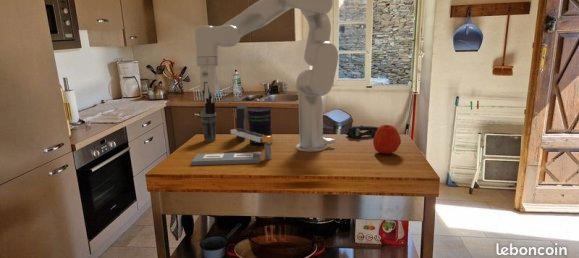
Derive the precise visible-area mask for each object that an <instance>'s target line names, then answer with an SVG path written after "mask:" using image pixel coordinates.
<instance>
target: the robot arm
mask: <svg viewBox="0 0 579 258" xmlns="http://www.w3.org/2000/svg"><path fill="white" fill-rule="evenodd" d="M333 3H334V2H333V0H258V1H256V2H254V3H253V4H251V5H250V6H248V7H247V8H246V9H244V10H243V11H241V13H238V14H237V15H235V16H234V17H231V19H230V20H228V21H226V22H225V23H223V24H222V25H217V26H215V25H198V26H195V28H194V41H195V42H194V45H195V59H196V61H195V62H196V67H199V85H200V94H201V95H203V96H204V105H205V107H204V108H205V110H206V114H215V112H216V102H215V101H216V100H215V99H216V98H215V95H216V94H218V93H219V92H220V85H219V75H218V74H219V73H218V68H217V67H219V66H220V65H219V49H218V46H219V47H220V48H231V47H235V46H237V44H239V43H240V41H241V38H242V37H244V36H245V35H247V34H249V33H251V32H253V31H257V30H259V29H262V28H264V27H265V26H267V25H268V24H270V23H271V22H273V21H274V20H276V19H277V18H278V17H280V16H282V15H283V14H285V13H286V12H288V11H289V10H291V9H298V10H300V12H301V14H302V15H303V16H304V18H305V19H306V20H307V24H308V33H307V39H306V46H305V49H304V53H303V54H304V57H303V59H304V61H305V63H306V64H307V65H309V66H311V67H312V68H311V69H306V70H303V71H300V73H299V74H298V76H297V78H296V82H295V85H296V87H295V88H296V92H297V99H298V129H299V130H298V131H299V134H298V135H299V143H297V144H296V145H295V149H296V150H298V151H301V152H320V151H324V150H326V149H328V146H327V145H328V144H329V145H335V144H336V141H335V138H325V137H324V122H323V121H324V117H323V115H324V112H323V110H324V109H323V108H324V107H323V105H324V104H323V98H322V97H324V96H326V95H328V94H329V93H330V91H331V90H332V88H333V85H334V81H335V78H336V77H335V76H336V71H337V67H338V61H339V52H338V48H337V47H336V46H335V44H334V43H332V42H330V40H331V39H330V38H331V30H332V25H331V20H330V18H329V15H328V13H329V12H330V11H331V10H332V7H333Z"/></svg>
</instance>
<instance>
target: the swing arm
mask: <svg viewBox="0 0 579 258" xmlns="http://www.w3.org/2000/svg"><path fill="white" fill-rule="evenodd" d="M230 134H231V135H234V136H236V135H237V136H240V137H244V138H246V139H247V140H249V141H250V140H253V141H257V142H263V143H264V144H270V143H272V144H273V135H272V136H270V135H266V136H265V135H261V134H258V133H254V132H250V130H248V129H247V130H243V129H240V128H238V129H236V128H234V129H230Z"/></svg>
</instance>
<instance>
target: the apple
mask: <svg viewBox="0 0 579 258" xmlns="http://www.w3.org/2000/svg"><path fill="white" fill-rule="evenodd" d="M378 127H379V128H378V129H377V131H375V132H376V133H375V136H373V141H372V143H373V148H374V150H375V152H378V153H380V154H393V153H395V152H397V150H398V149H399V148H400V146H401V143H402V139H401V136H400V134H399V131H398V129H397V128H396V127H395V126H394V125H390V124H383V125H380V126H378Z"/></svg>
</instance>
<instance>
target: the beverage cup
mask: <svg viewBox="0 0 579 258" xmlns="http://www.w3.org/2000/svg"><path fill="white" fill-rule="evenodd" d="M217 117H218V116H217V112H216V111H215V114H206V110H205V107H204V108H202V110H201V111H200V115H199V118H200V122H201V127H202V132H203V133H202V134H203V138H204V142H206V143H212V142H215V141H216V137H217V136H216V133H217V129H216V128H217Z"/></svg>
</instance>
